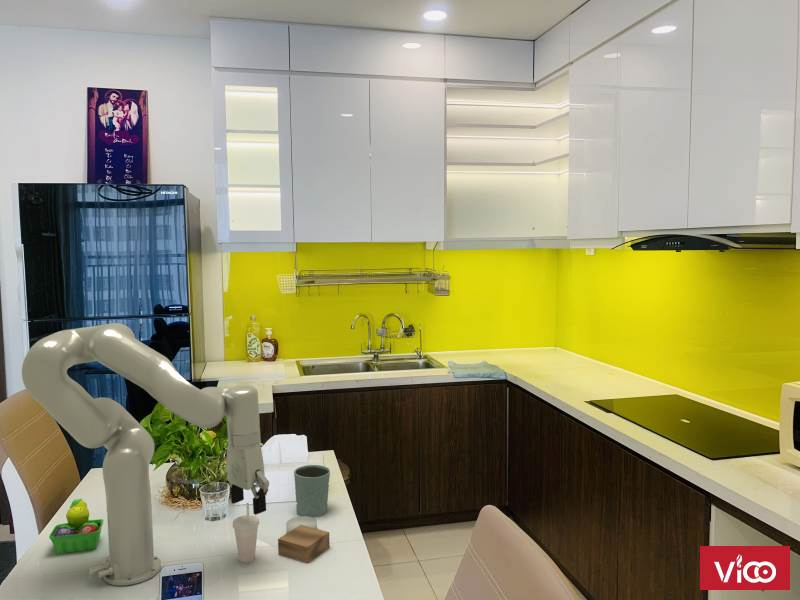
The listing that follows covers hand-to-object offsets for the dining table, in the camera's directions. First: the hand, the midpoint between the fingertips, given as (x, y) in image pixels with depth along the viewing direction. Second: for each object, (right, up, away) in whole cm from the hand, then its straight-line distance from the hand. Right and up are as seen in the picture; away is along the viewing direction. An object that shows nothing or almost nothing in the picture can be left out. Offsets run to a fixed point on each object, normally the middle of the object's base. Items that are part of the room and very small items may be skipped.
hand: (248, 507), depth 154 cm
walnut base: (+13, -13, +5) cm, 18 cm away
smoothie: (-1, -13, +1) cm, 13 cm away
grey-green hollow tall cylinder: (+12, -11, +28) cm, 32 cm away
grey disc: (+10, -12, +15) cm, 22 cm away
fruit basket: (-45, -13, +8) cm, 48 cm away
